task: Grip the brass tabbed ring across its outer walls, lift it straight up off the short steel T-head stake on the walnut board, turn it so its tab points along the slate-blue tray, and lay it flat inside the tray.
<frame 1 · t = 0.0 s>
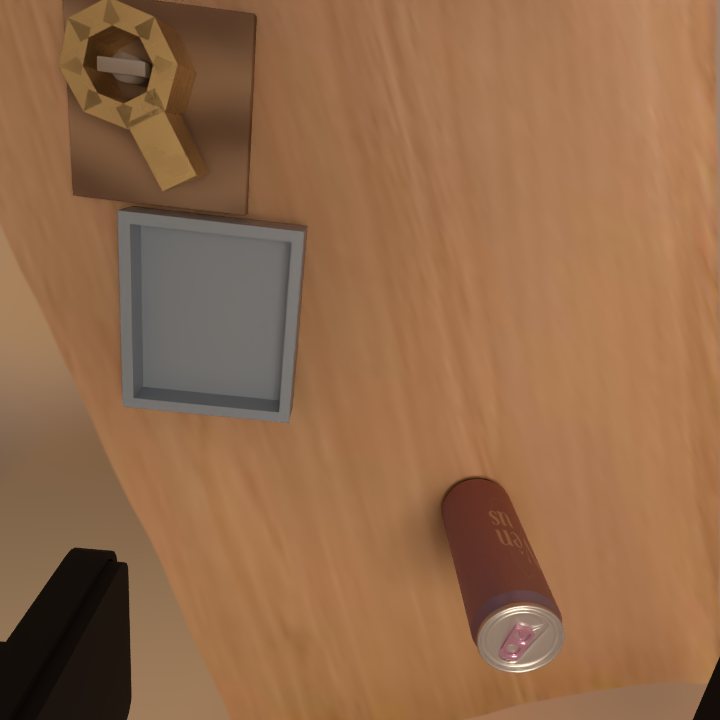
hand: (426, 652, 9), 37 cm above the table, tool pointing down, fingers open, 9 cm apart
beverage can: (474, 503, 51), on the table
tray: (217, 312, 45), on the table
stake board: (163, 109, 40), on the table
ring: (143, 74, 38), point 1 cm above the table, touching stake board
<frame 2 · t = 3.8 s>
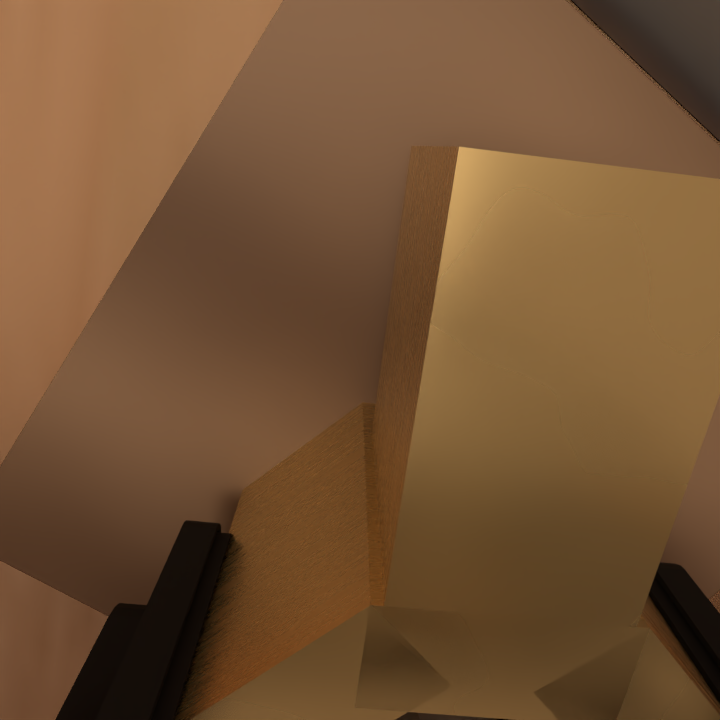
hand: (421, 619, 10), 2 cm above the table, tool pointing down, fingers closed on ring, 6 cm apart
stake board: (433, 434, 11), on the table
ring: (413, 567, 11), point 1 cm above the table, touching gripper, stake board
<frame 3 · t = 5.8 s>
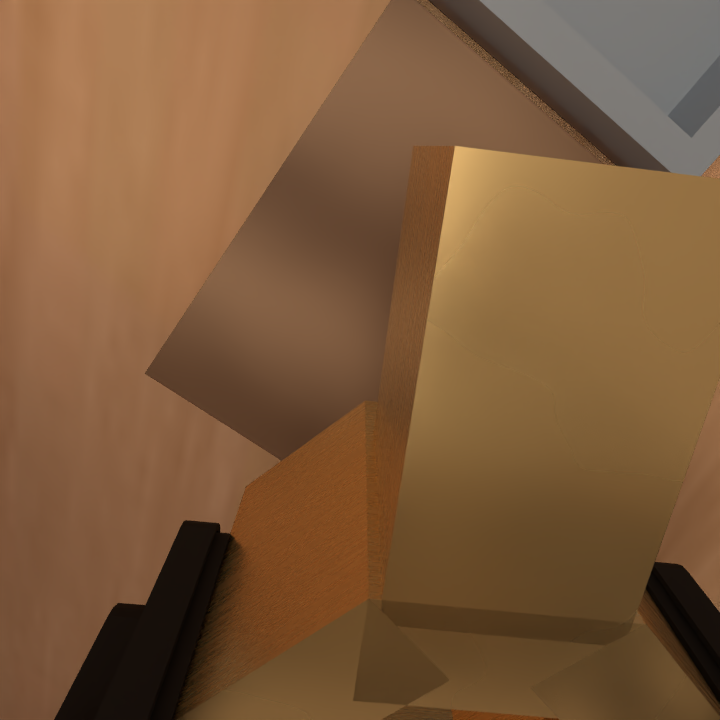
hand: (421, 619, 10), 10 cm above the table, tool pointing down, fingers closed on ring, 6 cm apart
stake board: (426, 318, 18), on the table
ring: (415, 565, 11), point 9 cm above the table, touching gripper
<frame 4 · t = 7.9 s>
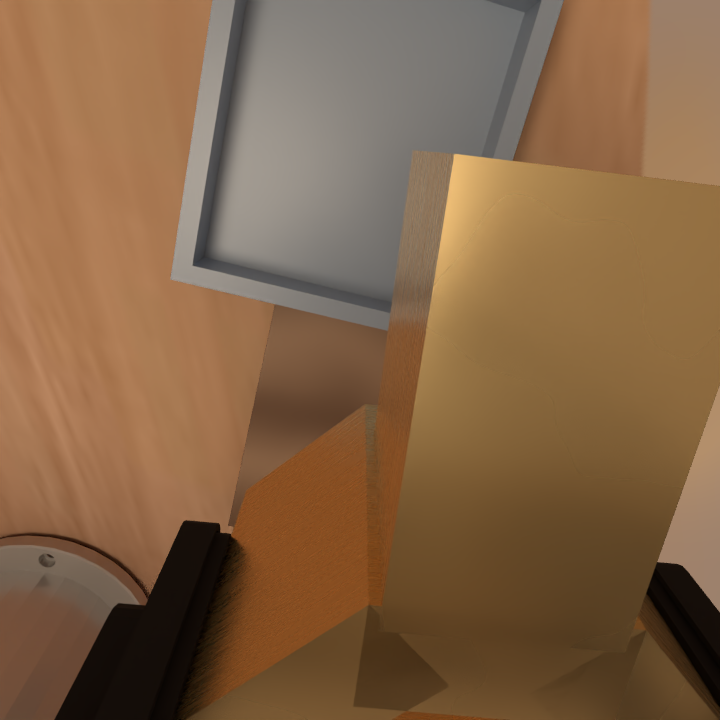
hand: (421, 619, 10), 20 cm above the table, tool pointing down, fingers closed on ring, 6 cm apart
tray: (354, 142, 26), on the table
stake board: (365, 437, 31), on the table
ring: (416, 568, 11), point 19 cm above the table, touching gripper
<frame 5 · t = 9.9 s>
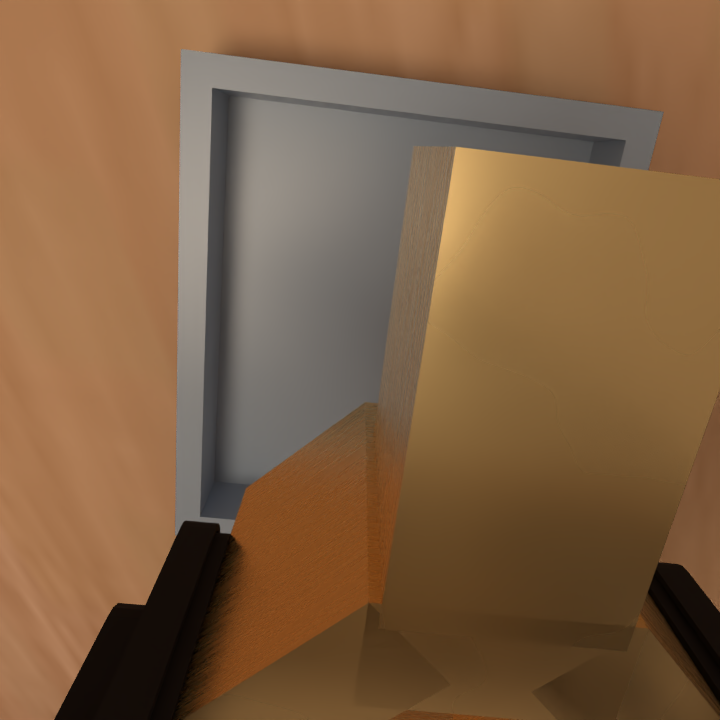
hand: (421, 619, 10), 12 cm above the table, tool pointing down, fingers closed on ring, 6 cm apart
tray: (384, 321, 20), on the table
ring: (416, 567, 11), point 11 cm above the table, touching gripper
when the fingers open (4 cm above the table, at t = 11.8 s): ring drops 2 cm, resting on tray.
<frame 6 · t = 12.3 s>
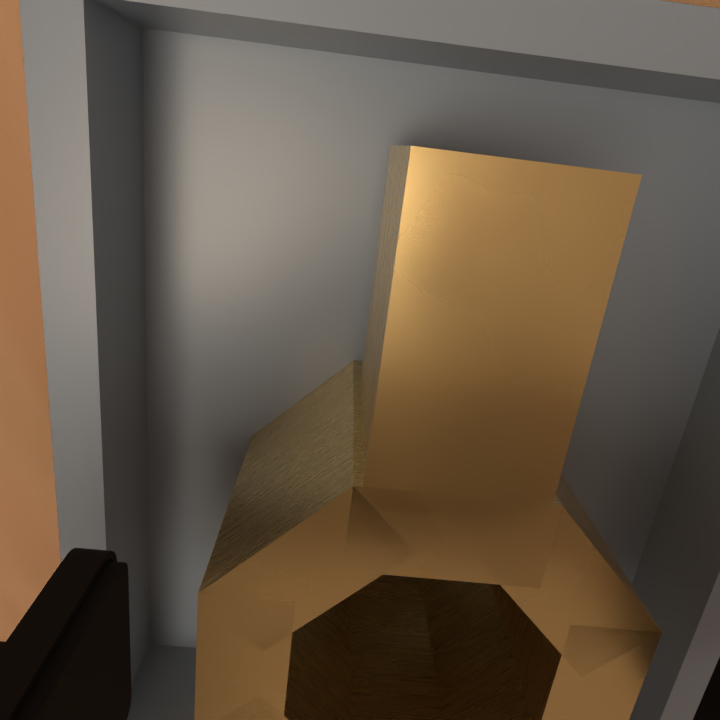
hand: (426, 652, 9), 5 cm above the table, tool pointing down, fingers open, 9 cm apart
tray: (414, 405, 13), on the table
ring: (397, 504, 13), point 1 cm above the table, touching tray
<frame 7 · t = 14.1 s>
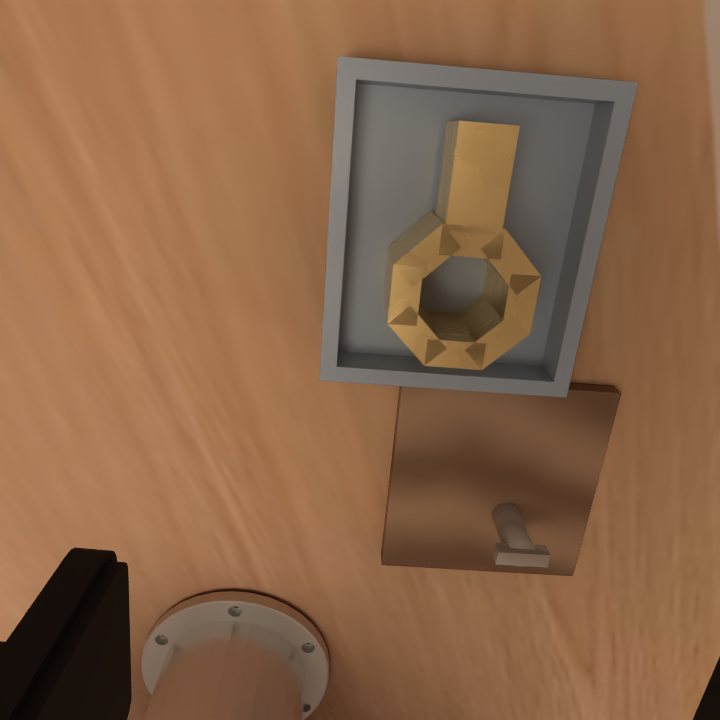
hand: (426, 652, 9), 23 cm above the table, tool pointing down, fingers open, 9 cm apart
tray: (454, 234, 30), on the table
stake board: (490, 474, 35), on the table
ring: (448, 276, 30), point 1 cm above the table, touching tray
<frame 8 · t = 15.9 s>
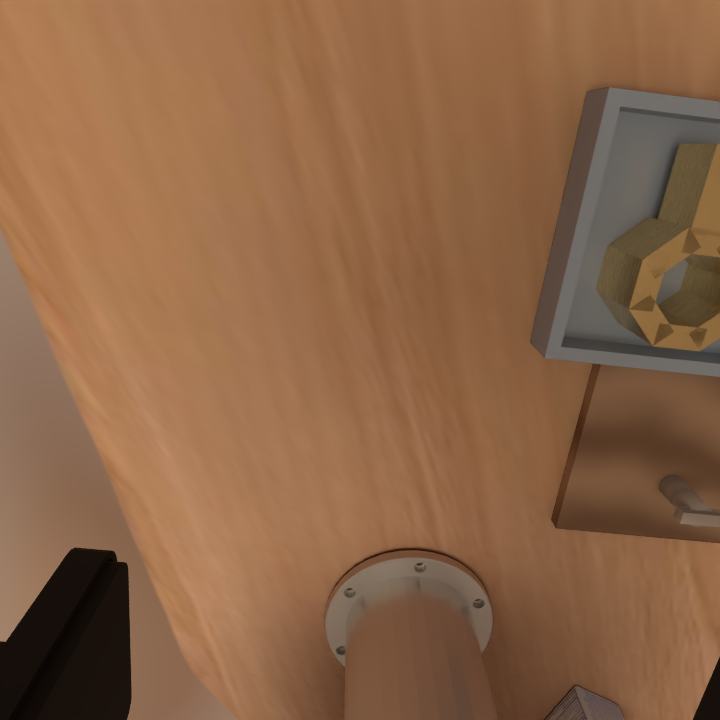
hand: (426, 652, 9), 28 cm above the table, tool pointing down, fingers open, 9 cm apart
tray: (659, 238, 35), on the table
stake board: (657, 450, 40), on the table
ring: (653, 273, 35), point 1 cm above the table, touching tray
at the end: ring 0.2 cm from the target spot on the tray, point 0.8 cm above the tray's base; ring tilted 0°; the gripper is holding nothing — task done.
